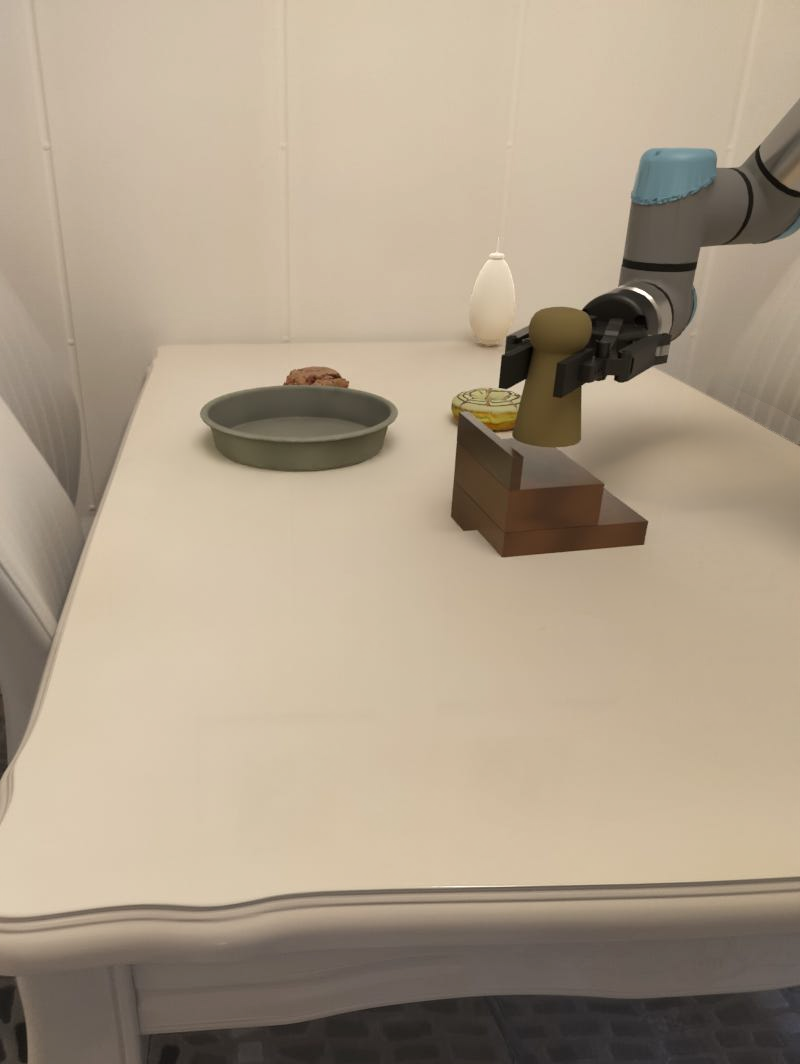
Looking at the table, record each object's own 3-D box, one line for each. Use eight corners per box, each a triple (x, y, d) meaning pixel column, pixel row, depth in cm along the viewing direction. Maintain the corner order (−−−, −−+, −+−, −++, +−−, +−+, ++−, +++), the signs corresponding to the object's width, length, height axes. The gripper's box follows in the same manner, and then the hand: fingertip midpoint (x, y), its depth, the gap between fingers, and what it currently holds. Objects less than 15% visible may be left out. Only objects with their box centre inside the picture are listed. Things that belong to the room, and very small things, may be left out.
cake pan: (407, 421, 125) (409, 388, 122) (380, 483, 104) (382, 444, 102) (234, 410, 129) (232, 378, 127) (174, 468, 108) (171, 430, 106)
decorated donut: (530, 413, 128) (533, 386, 126) (526, 436, 119) (530, 407, 117) (455, 408, 130) (457, 381, 128) (446, 430, 121) (448, 401, 119)
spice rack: (575, 506, 98) (590, 404, 92) (641, 560, 86) (663, 447, 81) (450, 516, 95) (458, 411, 90) (500, 573, 84) (513, 457, 78)
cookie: (334, 379, 145) (334, 359, 143) (357, 396, 136) (357, 375, 134) (273, 383, 142) (273, 364, 140) (293, 401, 133) (292, 380, 132)
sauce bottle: (458, 344, 166) (466, 236, 157) (485, 338, 171) (494, 233, 162) (492, 352, 161) (502, 241, 152) (519, 345, 166) (531, 237, 157)
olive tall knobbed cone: (500, 439, 82) (513, 310, 76) (528, 422, 86) (543, 299, 80) (565, 451, 79) (584, 318, 73) (591, 434, 83) (610, 306, 77)
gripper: (702, 377, 90) (627, 439, 73) (536, 354, 98) (435, 405, 81) (718, 297, 86) (644, 342, 69) (545, 280, 94) (440, 317, 77)
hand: (531, 376), depth 75 cm, fingers closed on olive tall knobbed cone, 4 cm apart
